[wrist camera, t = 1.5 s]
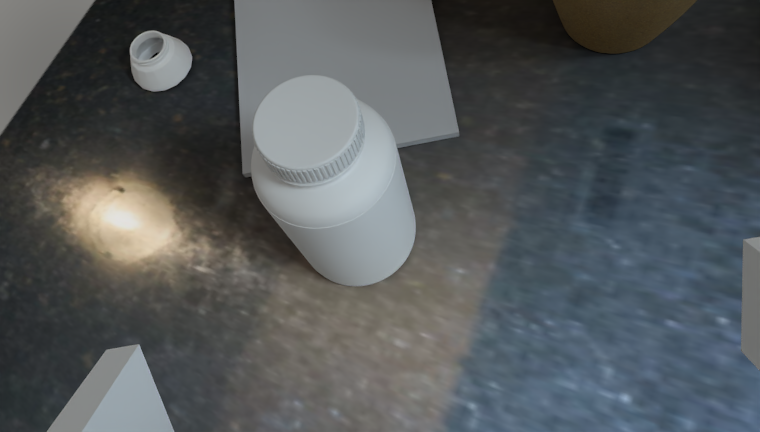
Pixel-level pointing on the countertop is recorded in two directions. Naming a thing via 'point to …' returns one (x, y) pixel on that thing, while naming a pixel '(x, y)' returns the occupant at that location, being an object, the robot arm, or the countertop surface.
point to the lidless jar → (159, 61)
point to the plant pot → (618, 21)
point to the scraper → (348, 60)
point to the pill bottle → (333, 180)
